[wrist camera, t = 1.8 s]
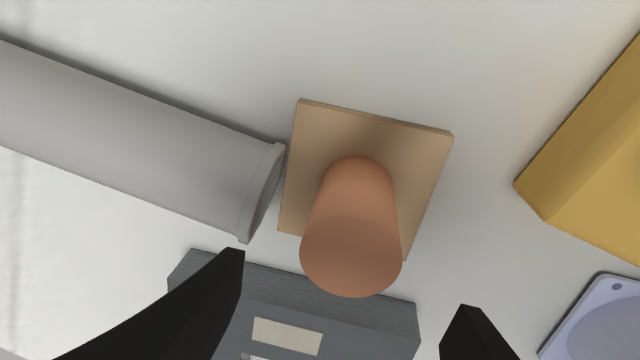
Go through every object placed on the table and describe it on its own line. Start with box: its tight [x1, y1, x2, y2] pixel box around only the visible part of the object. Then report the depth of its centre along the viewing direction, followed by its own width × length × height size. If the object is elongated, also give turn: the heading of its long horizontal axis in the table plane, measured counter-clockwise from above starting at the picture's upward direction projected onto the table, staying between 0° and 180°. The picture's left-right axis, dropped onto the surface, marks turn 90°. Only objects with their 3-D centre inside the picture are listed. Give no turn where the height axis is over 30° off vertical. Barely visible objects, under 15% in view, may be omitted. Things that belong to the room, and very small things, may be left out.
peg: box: [299, 155, 403, 298], centre depth 15 cm, size 4×4×6 cm
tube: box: [0, 40, 286, 245], centre depth 17 cm, size 5×5×25 cm
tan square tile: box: [277, 99, 454, 261], centre depth 18 cm, size 8×8×1 cm
